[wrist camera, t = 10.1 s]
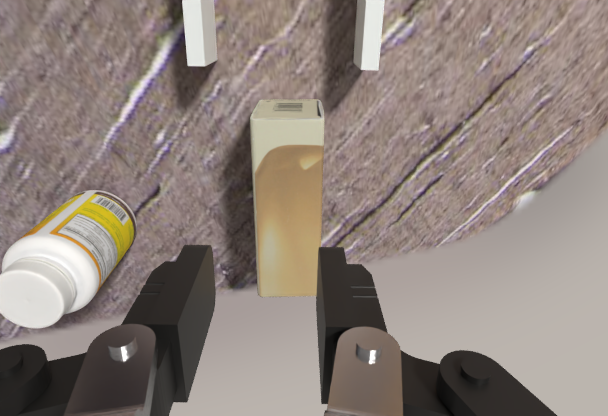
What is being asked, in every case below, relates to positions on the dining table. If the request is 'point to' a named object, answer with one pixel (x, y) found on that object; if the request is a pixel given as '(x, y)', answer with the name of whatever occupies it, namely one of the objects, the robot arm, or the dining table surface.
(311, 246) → the skincare box
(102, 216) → the supplement bottle
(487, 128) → the dining table surface
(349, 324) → the robot arm
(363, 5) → the twin rod panel frame
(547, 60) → the dining table surface
